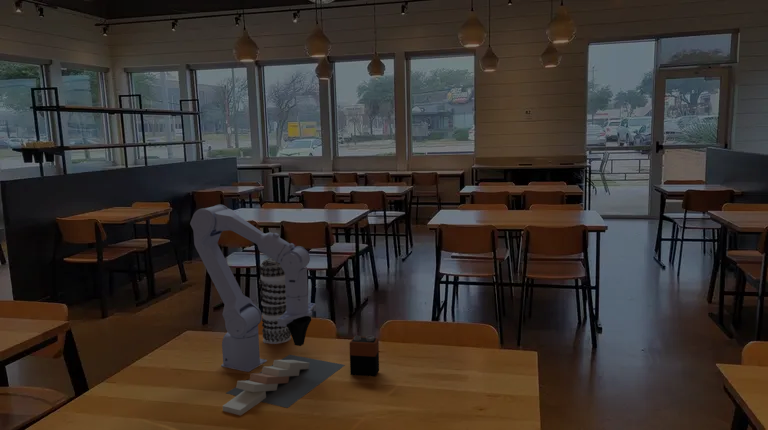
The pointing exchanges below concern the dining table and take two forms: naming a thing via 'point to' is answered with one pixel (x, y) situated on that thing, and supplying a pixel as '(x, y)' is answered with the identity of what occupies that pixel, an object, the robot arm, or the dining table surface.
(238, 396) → the domino
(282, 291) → the decorative candle
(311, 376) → the mat
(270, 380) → the domino
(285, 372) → the domino
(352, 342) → the battery
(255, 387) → the domino
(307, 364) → the domino
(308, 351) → the dining table surface
